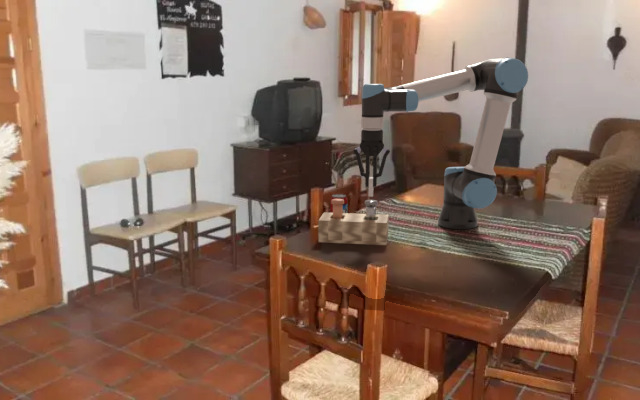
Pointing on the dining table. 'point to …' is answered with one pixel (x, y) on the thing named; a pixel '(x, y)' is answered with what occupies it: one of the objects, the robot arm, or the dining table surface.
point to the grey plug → (371, 209)
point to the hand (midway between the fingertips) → (370, 195)
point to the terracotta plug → (337, 208)
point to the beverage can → (345, 205)
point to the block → (353, 229)
